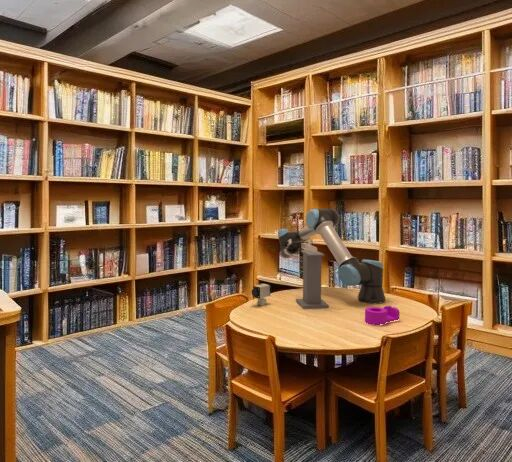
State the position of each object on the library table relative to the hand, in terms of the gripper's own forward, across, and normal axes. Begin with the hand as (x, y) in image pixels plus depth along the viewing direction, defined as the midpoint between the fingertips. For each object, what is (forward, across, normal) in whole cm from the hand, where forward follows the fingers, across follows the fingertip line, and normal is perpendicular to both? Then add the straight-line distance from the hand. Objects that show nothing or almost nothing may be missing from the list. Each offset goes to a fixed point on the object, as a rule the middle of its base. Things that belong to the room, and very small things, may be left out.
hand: (301, 240), depth 253 cm
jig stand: (+14, +2, -40) cm, 42 cm away
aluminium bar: (+18, +2, -10) cm, 21 cm away
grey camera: (+9, +30, -38) cm, 49 cm away
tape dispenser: (+49, -19, -52) cm, 74 cm away
